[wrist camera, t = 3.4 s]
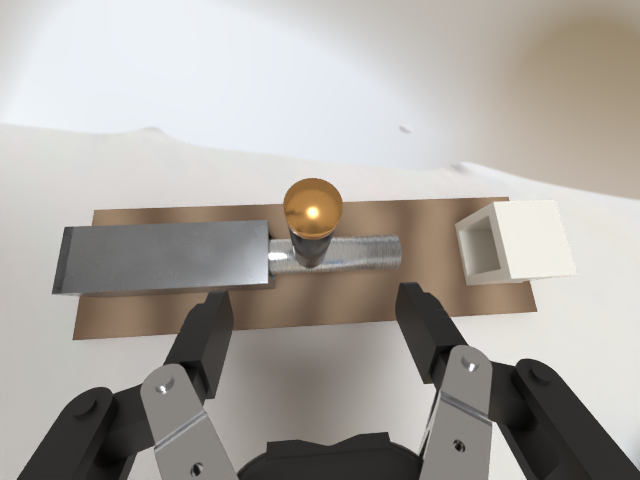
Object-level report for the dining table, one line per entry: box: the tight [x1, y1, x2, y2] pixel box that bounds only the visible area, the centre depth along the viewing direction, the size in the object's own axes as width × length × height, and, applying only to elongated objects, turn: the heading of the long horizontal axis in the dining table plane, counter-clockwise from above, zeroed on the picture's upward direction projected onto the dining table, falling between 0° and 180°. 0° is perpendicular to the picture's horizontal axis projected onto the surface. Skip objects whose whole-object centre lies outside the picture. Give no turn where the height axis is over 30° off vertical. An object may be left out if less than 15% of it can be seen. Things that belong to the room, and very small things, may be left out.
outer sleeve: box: [52, 220, 276, 298], centre depth 21 cm, size 14×5×5 cm, turn 93°
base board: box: [73, 197, 537, 340], centre depth 24 cm, size 39×11×1 cm, turn 93°
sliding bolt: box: [269, 178, 402, 275], centre depth 17 cm, size 22×3×12 cm, turn 93°
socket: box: [455, 200, 578, 286], centre depth 22 cm, size 5×6×5 cm
